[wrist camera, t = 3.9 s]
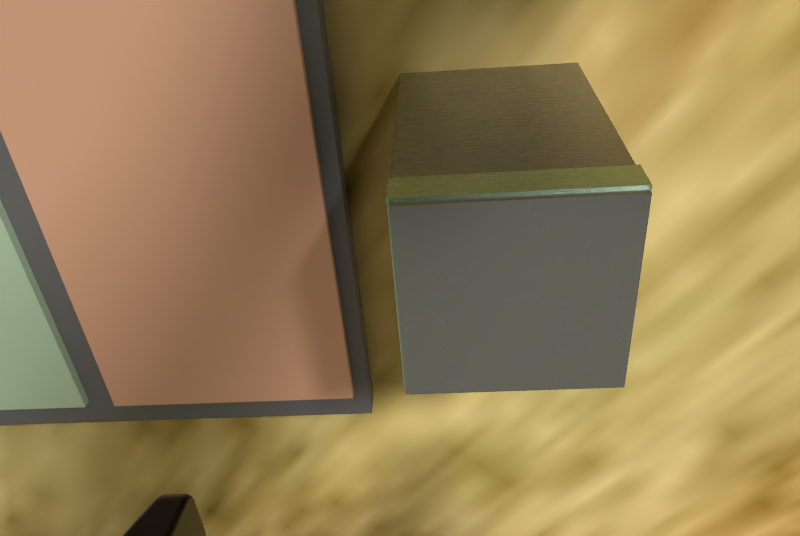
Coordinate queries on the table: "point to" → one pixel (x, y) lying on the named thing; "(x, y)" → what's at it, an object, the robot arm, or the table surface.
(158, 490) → the table surface
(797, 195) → the table surface
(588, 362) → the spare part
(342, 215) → the sorting board
